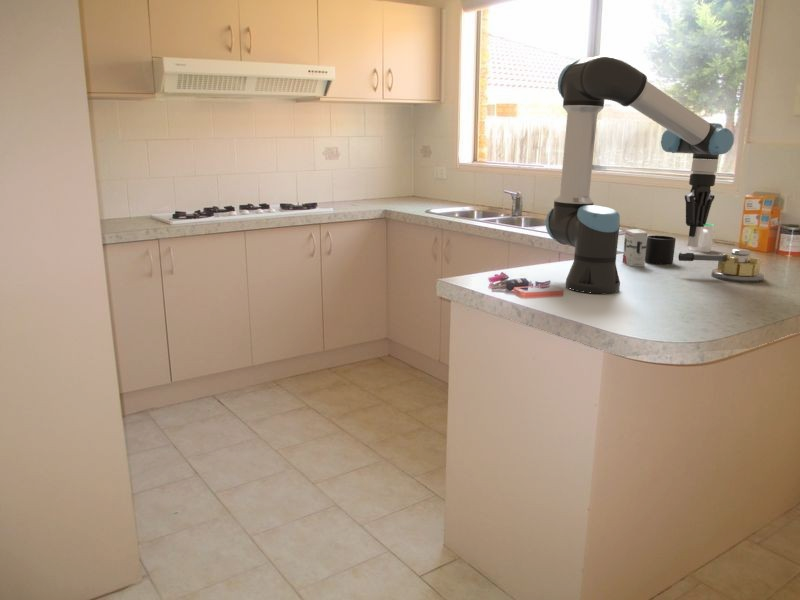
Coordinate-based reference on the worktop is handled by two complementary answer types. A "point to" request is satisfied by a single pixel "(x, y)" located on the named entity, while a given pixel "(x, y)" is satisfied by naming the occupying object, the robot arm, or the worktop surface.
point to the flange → (742, 258)
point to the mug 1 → (660, 250)
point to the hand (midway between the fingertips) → (692, 246)
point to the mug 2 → (704, 239)
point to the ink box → (635, 247)
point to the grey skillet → (727, 263)
